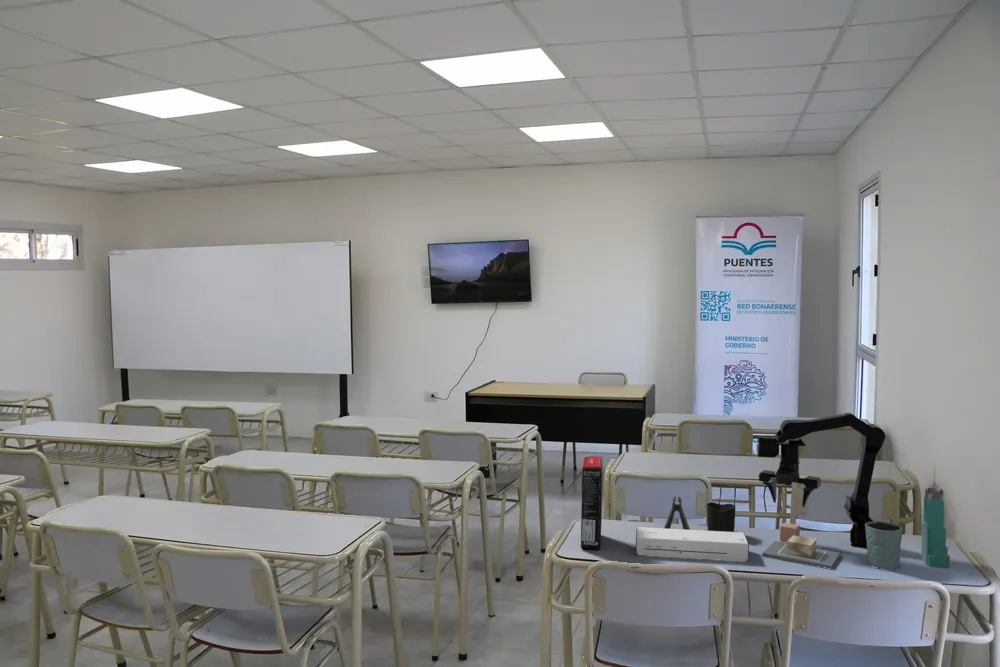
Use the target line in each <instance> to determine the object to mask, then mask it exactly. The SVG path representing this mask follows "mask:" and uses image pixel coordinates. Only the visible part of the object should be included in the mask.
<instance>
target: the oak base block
mask: <svg viewBox="0 0 1000 667" xmlns="http://www.w3.org/2000/svg"><path fill="white" fill-rule="evenodd" d="M786 543H787V554H790V555H796V556H801V557H806V558H812V556H813V555H814V554H815V553H816V548H817V539H816V538H810V537H804V536H794V535H793V536H792V537H791V538H790V539H789V540H788V541H787V542H786Z"/></svg>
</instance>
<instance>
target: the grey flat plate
mask: <svg viewBox="0 0 1000 667" xmlns="http://www.w3.org/2000/svg"><path fill="white" fill-rule="evenodd" d="M764 556H765V557H764ZM841 556H842V552H839V551H838V552H837V551H832V550H829V549H823V548H817V547H816V553H815V554H814V555H813V556H812V558H806V557H801V556H796V555H790V554H787V542H784V541H777V540H775V541H773V542H772V543H771V544H770V545H769V546H768V547H767V548H766V549H765V550H764V551H763V552H762V557H764V558H769V557H770V558H771V559H775V560H781V561H785V562H790V561H791V562H792V563H795V562H796V563H797V564H801V563H802V564H801V565H806V564H808V565H807V566H811V565H814V566H813V567H816V566H820V567H819V568H822V567H826V568H825V569H827V568H830V569H829V570H832V569H833V568H832V567H834V566H835V565H836V563H837V562H838V561H839V559H840V558H839V557H841ZM836 561H837V562H836ZM834 564H835V565H834ZM833 565H834V566H833ZM831 568H832V569H831Z"/></svg>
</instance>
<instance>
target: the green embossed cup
mask: <svg viewBox="0 0 1000 667" xmlns="http://www.w3.org/2000/svg"><path fill="white" fill-rule="evenodd" d="M865 529H866V540H867V548H866V551H867V552H866V559H867V560H866V561H867V564H868V565H869V564H870V565H871V566H870V565H869V566H870V567H872V566H874V567H873V568H875V567H877V568H876V569H878V568H882V569H881V570H883V569H896V570H898V569H899V568H900V563H901V546H902V536H903V527H902V526H901V525H899V524H897V523H892V522H888V521H880V520H879V521H878V520H876V521H874V520H873V521H871V522H867V523H865ZM897 568H898V569H897Z"/></svg>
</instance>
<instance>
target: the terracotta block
mask: <svg viewBox="0 0 1000 667" xmlns="http://www.w3.org/2000/svg"><path fill="white" fill-rule="evenodd" d="M779 527H780V528H779V529H780V530H779V532H780V533H779V534H780V535H779V542H784V543H787V541H788V540H789V539H790V538H791V537H792V536H793V535H794V536H800V532H801V530H800V529H801V526H800V524H795V523H790V522H783V523H782V524H781V525H780V526H779ZM800 537H801V536H800Z"/></svg>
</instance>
